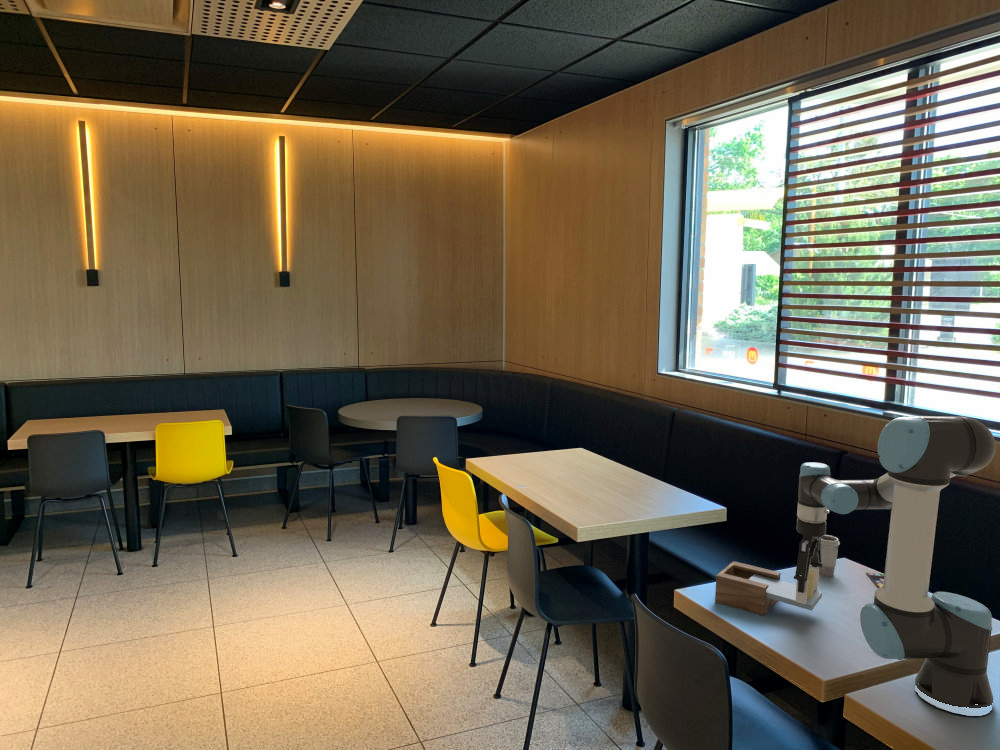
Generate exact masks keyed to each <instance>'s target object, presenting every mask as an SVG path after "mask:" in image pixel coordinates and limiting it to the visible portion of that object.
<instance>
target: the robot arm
mask: <svg viewBox="0 0 1000 750" xmlns="http://www.w3.org/2000/svg"><path fill="white" fill-rule="evenodd" d="M995 439H996V438H995V437H994V435H993V433H992V432H991V430H990V429H989V428H988V427H987V426H986V425H985V424H984V423H982V422H981V421H979V420H977V419H975V418H972V417H968V416H963V415H962V416H961V415H960V416H959V415H957V416H956V415H954V416H950V415H949V416H945V415H944V416H935V415H934V416H932V415H931V416H929V415H925V416H924V415H910V416H900V417H896V418H894V419H892V420H890V421H889V422H888V423H887V424H885V426H884V427H883V429H882V430H881V432H880V434H879V437H878V441H877V455H878V456H879V462H880V464H881V466H882V467H883V468H884V469H885V470H886V471H887V472H886V473H885V474H883V475H881V476H879V477H878V478H875V479H846V480H845V479H843V480H842V479H841V480H840V479H835V478H833V477H831V468H830V465H827V464H825V463H822V462H815V461H814V462H804V463H802V464H801V466H800V470H799V471H800V473H799V476H798V478H799V479H798V480H799V481H798V496H797V497H798V498H797V499H798V500H797V508H796V509H797V511H796V512H797V513H796V516H797V519H796V527H795V529H796V532H797V533H798V534H799V535H800V534H801V535H803V538H802V539H801V541H800V542H799V544H798V555H797V561H796V568H795V572H794V573H795V574H794V575H793V580H796V585H797V586H796V602H798V603H802V604H807V590H808V580H807V577H808V572H809V570H811V571H815V572H816V573H815V583H814V590H817V591H819V590H818V589H819V568H818V567H822V565H823V564H822V563H821V561H822V560H821V536H824V535H827V524H828V523H827V521H826V520H827V518H828V517H827V515H828V514H830V512H833V513H836V514H840V515H846V514H847V515H848V514H850V513H851V512H853V511H855V510H891V511H890V522H889V531H888V532H889V533H888V540H887V548H886V549H887V550H886V558H885V566H884V574H885V576H884V585H883V586H882V587H880V588H877V589H876V590H875V591H874V597H873V603H870V602H869V603H867V604H865V605H864V606H863V607H862V608H861V609H860V610H861V611H860V615H859V616H860V617H859V618H860V620H859V622H860V627H861V630H862V635H863V636H864V638H865V639H864V640H865V641H866V643H867V645H868V646H869V648H870V649H871V651H873V652H874V654H876V655H877V656H878V657H880V658H882V659H884V660H885V659H886V660H897V661H903V660H916V659H919V660H920V659H924V660H923V663H922V664H921V667H920V669H919V670H918V672H917V675H916V676H915V679H914V686H915V685H916V686H917V688H918V689H919V690H920V691H921V692H923V693H924V694H926V695H927V696H929V697H931V698H933V699H935V700H937V701H939V702H942V703H945V704H949V705H952V706H958V707H966V708H967V707H969V708H981V707H987V706H990V705H992V703H993V704H994V701H993V700H994V695H993V691H992V688H991V684H990V680H989V676H988V672H987V671H988V665H989V653H990V647H991V636H992V631H993V627H992V625H993V624H992V623H993V622H992V621H993V615H992V613H991V611H990V610H989V608H988V607H986V606H985V605H984V604H982V603H981V602H978V601H977V600H975V599H972V598H970V597H967V596H964V595H961V594H958V593H952V592H947V591H935V592H934V593H932V594H931V597H930V596H929V594H928V593H929V588H930V577H931V569H932V564H933V563H932V562H933V553H934V545H935V538H936V537H935V536H936V527H937V520H938V512H939V511H938V510H939V503H940V494H941V490H943V489H944V488H946V487H947V486H949V485H950V481H951V478H954V477H956V476H958V477H967V476H970V475H972V474H974V473H976V472H979V471H980V470H983V469H984V468H986V467H987V466H988V465H989V464H990V463H991V462H992V460H993V459H994V457H995V454H996V450H997V449H996V448H997V444H996V440H995ZM975 704H978V705H975Z"/></svg>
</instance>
